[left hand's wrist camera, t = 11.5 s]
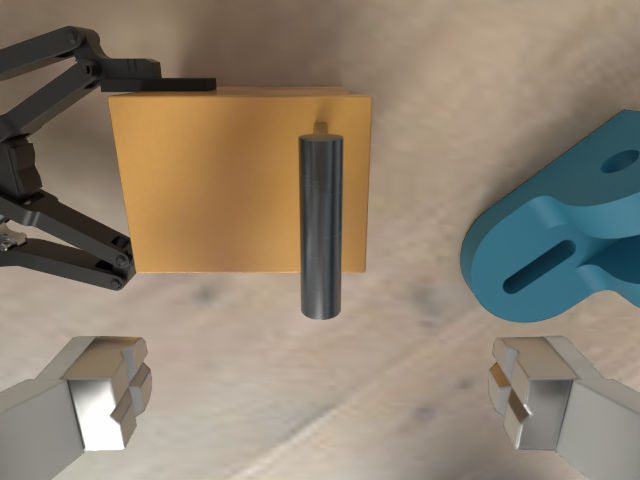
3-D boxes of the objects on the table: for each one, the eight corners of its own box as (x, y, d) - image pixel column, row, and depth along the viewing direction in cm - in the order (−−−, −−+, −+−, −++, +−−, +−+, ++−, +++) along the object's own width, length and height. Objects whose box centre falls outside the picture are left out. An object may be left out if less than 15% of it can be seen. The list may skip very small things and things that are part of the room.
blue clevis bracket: (624, 109, 35) (741, 125, 26) (681, 206, 38) (806, 255, 28) (436, 247, 40) (475, 306, 30) (500, 325, 42) (555, 403, 33)
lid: (369, 94, 24) (395, 107, 16) (363, 264, 28) (381, 342, 20) (116, 94, 24) (18, 107, 16) (143, 264, 28) (73, 343, 20)
